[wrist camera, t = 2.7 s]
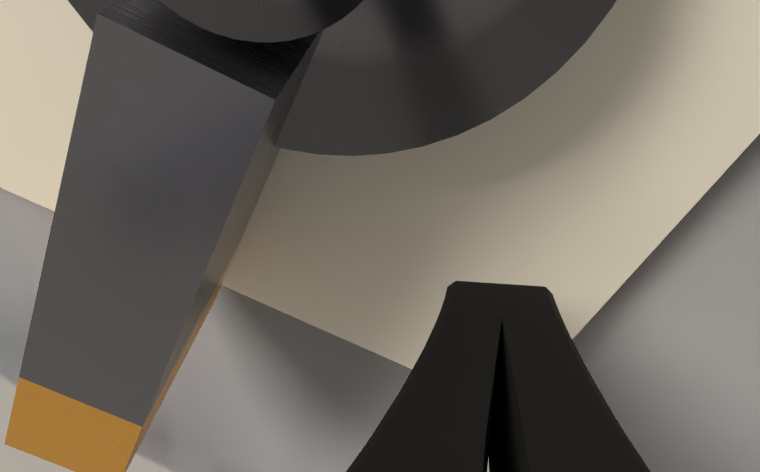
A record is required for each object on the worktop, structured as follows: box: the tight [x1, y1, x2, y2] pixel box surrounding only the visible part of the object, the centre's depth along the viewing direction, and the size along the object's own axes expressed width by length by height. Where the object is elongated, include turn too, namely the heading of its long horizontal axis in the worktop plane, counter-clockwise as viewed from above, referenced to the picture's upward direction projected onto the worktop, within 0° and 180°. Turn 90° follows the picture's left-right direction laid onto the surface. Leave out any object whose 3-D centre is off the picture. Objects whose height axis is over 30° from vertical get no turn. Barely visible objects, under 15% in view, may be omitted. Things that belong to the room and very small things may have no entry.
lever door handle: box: [5, 0, 617, 472], centre depth 8 cm, size 12×7×4 cm, turn 155°
